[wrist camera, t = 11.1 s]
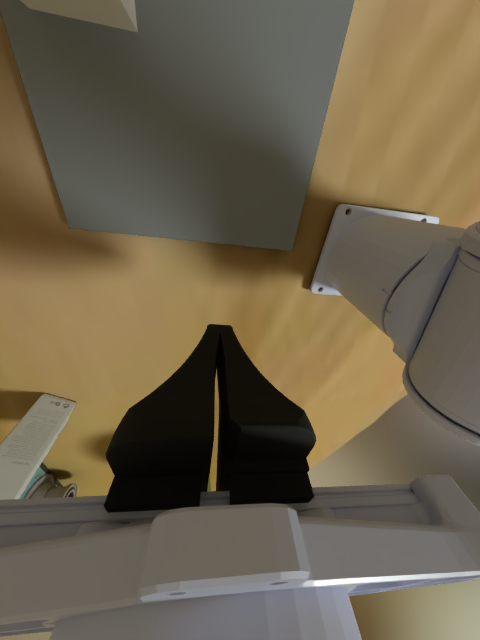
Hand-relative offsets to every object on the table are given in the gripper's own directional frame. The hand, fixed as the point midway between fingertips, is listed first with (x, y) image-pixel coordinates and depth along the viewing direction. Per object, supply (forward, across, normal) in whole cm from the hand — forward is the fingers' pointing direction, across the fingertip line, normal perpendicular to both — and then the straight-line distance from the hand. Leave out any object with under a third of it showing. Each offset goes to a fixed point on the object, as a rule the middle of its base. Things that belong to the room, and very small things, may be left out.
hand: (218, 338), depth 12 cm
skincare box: (+10, +22, +22) cm, 32 cm away
